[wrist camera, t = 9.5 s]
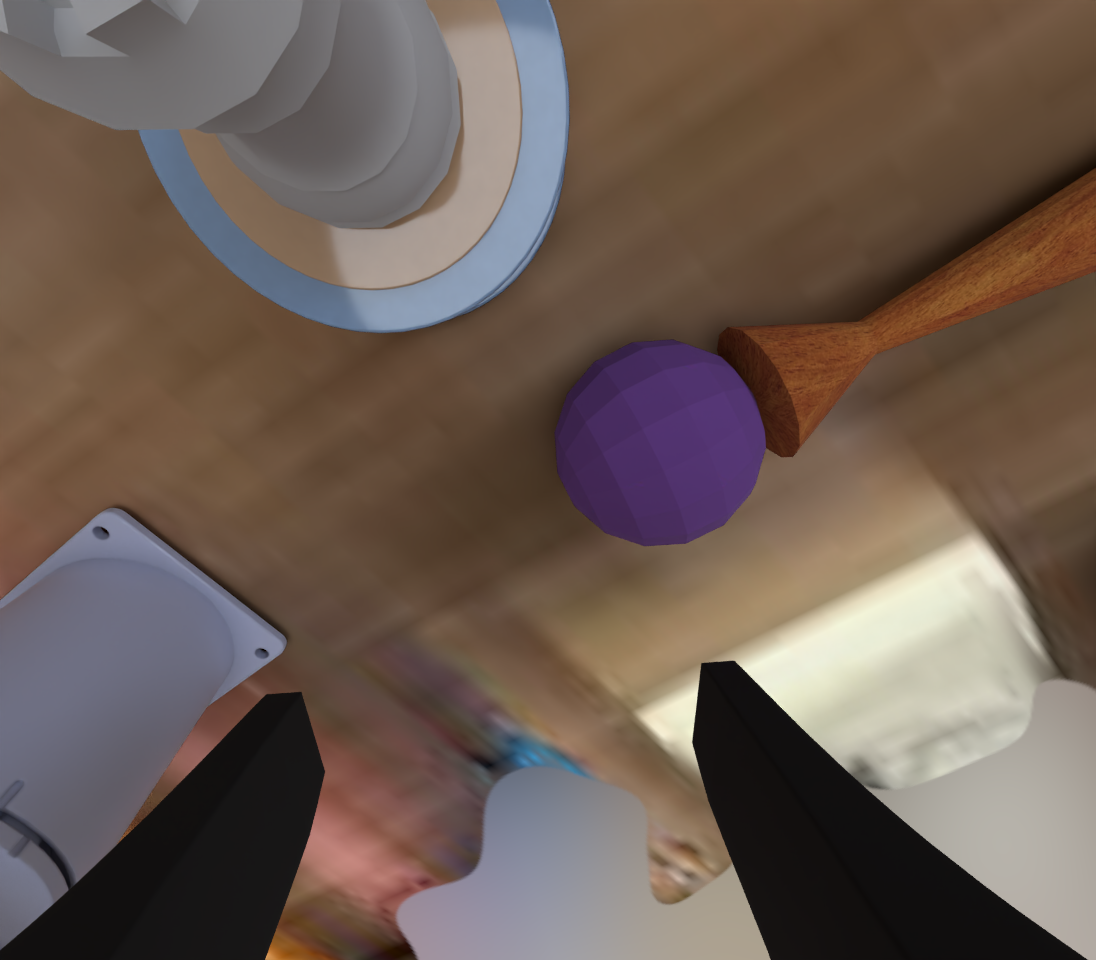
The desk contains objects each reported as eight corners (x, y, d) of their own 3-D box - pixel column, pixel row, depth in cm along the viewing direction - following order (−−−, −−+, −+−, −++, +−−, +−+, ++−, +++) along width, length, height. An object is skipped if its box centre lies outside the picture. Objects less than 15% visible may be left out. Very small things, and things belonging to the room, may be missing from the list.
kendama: (1306, 291, 14) (631, 619, 15) (1072, 255, 19) (576, 503, 20) (1426, 19, 11) (548, 464, 12) (1104, 60, 16) (507, 371, 17)
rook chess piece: (287, 252, 11) (-121, 263, 4) (182, -12, 9) (-931, -894, 2) (488, 203, 11) (450, 122, 4) (423, -75, 9) (111, -1232, 2)
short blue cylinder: (391, 381, 17) (351, 427, 13) (141, 103, 14) (-28, 38, 10) (627, 189, 15) (673, 166, 11) (405, -185, 12) (347, -430, 8)
